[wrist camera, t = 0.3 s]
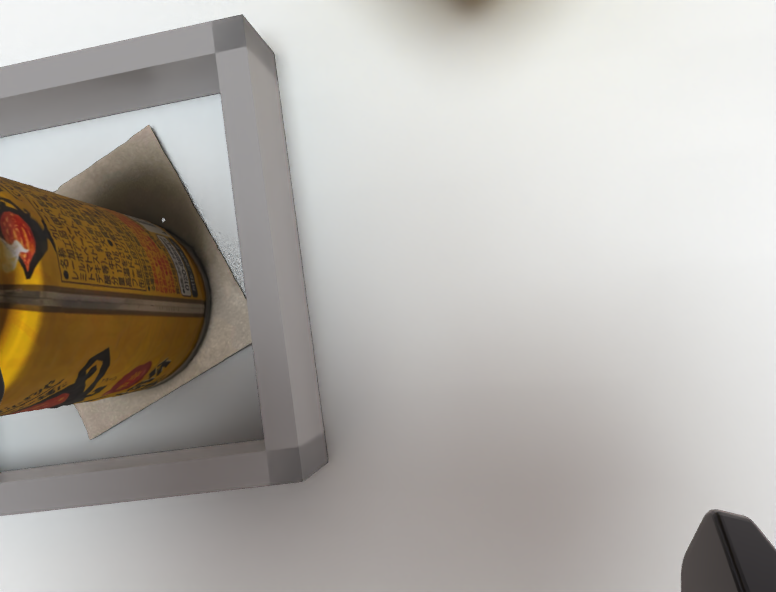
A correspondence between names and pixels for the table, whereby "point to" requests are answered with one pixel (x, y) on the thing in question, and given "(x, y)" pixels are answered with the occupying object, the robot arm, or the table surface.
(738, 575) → the robot arm
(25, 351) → the condiment
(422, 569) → the table surface
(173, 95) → the parts tub
